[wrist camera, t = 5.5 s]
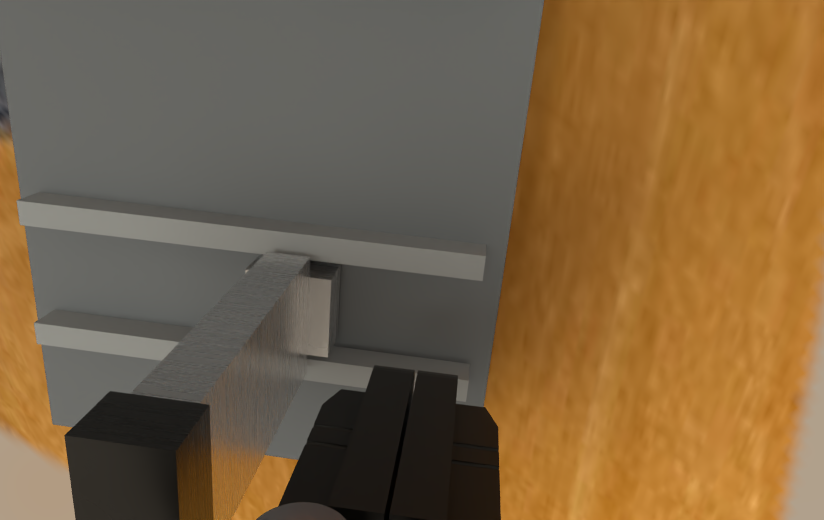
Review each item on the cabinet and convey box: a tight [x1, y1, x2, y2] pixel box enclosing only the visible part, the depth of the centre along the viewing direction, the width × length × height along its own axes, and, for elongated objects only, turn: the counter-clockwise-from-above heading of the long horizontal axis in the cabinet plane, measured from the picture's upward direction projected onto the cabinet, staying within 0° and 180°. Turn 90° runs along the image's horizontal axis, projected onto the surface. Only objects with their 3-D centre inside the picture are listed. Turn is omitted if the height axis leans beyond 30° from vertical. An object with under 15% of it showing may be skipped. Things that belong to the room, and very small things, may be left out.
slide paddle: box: [65, 252, 341, 520], centre depth 12 cm, size 3×2×8 cm, turn 175°
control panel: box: [0, 0, 544, 460], centre depth 15 cm, size 20×12×5 cm, turn 175°
